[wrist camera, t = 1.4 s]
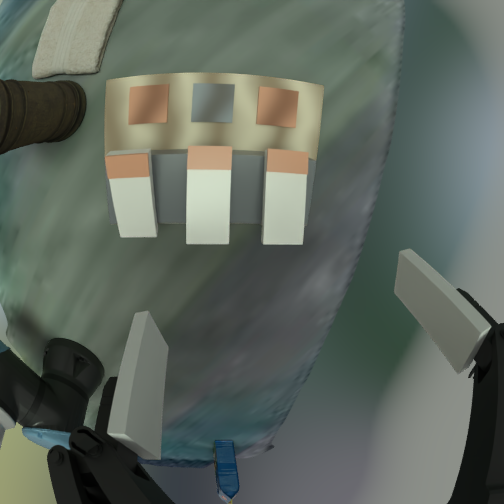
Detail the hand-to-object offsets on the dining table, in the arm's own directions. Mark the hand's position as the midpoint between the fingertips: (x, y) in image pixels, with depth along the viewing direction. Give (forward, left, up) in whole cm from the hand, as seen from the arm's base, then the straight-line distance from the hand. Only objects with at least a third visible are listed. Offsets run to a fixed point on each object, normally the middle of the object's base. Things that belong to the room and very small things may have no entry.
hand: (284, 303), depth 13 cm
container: (-26, +11, -26) cm, 38 cm away
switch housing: (-4, 0, -24) cm, 25 cm away
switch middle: (-4, 0, -19) cm, 19 cm away
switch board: (-4, +4, -26) cm, 27 cm away
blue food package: (-2, -86, -26) cm, 89 cm away
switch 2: (+4, 0, -19) cm, 19 cm away
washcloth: (-24, +25, -27) cm, 44 cm away
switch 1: (-12, +1, -19) cm, 22 cm away
